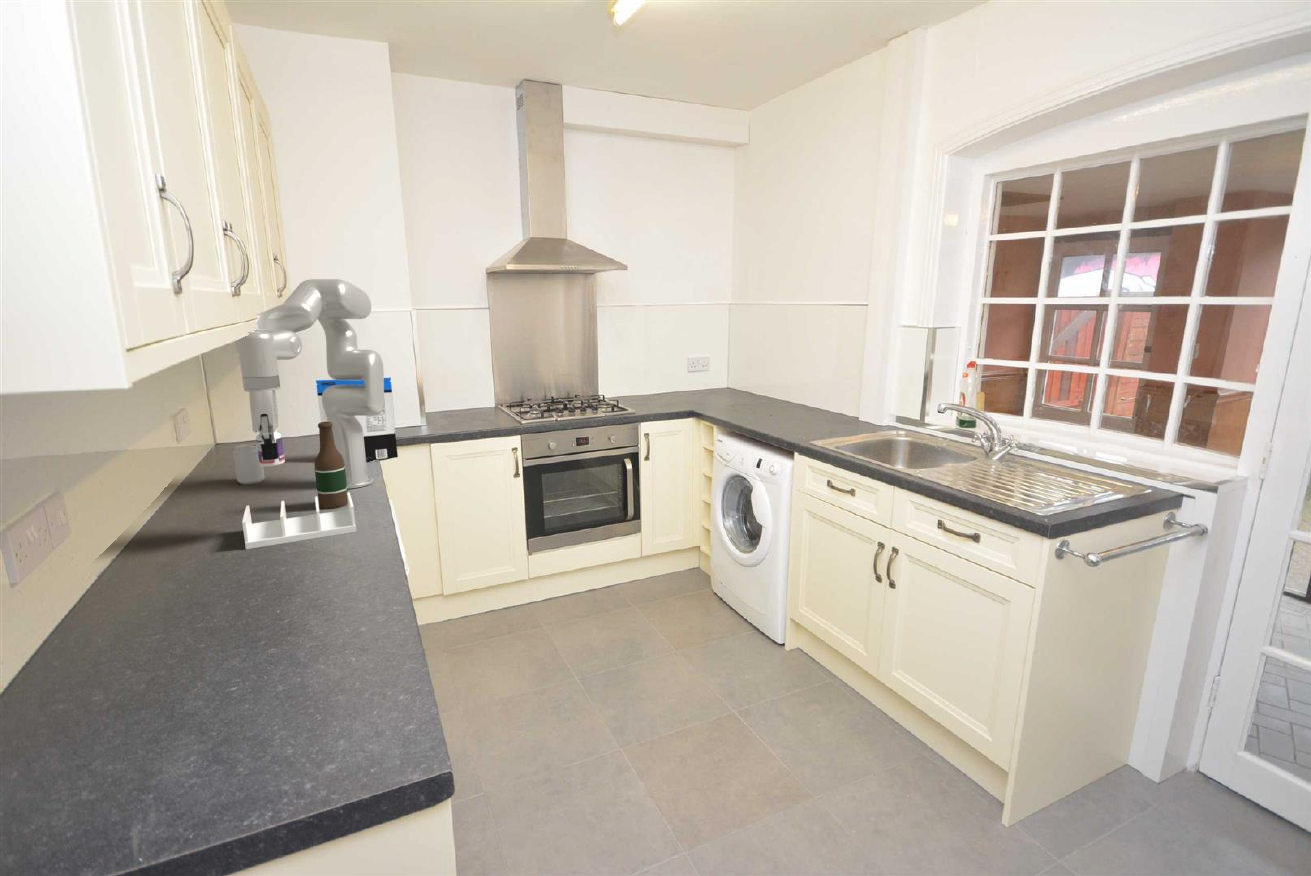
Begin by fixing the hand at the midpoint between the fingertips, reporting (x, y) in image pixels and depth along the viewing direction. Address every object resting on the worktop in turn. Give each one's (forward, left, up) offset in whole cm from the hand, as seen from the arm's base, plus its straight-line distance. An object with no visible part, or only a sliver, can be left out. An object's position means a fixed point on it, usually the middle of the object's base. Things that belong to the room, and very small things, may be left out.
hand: (271, 455), depth 153 cm
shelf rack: (+3, +5, -19) cm, 20 cm away
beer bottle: (-16, +13, -20) cm, 28 cm away
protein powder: (-69, +24, -20) cm, 76 cm away
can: (-56, -9, -20) cm, 60 cm away
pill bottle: (0, 0, -2) cm, 2 cm away
